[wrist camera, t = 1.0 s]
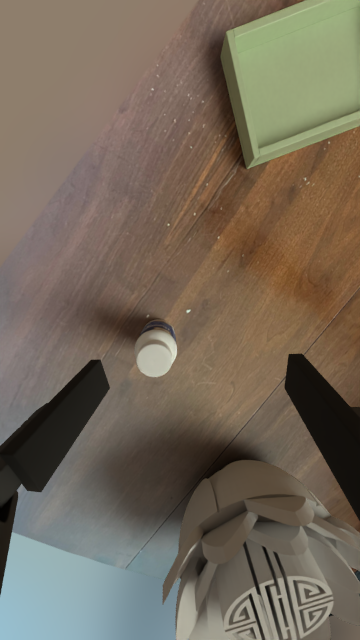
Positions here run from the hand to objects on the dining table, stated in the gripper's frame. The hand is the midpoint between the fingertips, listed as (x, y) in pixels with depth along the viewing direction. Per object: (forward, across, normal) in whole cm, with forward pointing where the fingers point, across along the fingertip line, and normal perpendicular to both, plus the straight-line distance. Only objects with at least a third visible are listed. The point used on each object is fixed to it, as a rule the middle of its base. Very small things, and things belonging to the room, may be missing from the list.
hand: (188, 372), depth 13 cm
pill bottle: (+15, -7, -4) cm, 17 cm away
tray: (+25, +16, +26) cm, 39 cm away
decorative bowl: (+12, +6, -39) cm, 42 cm away
